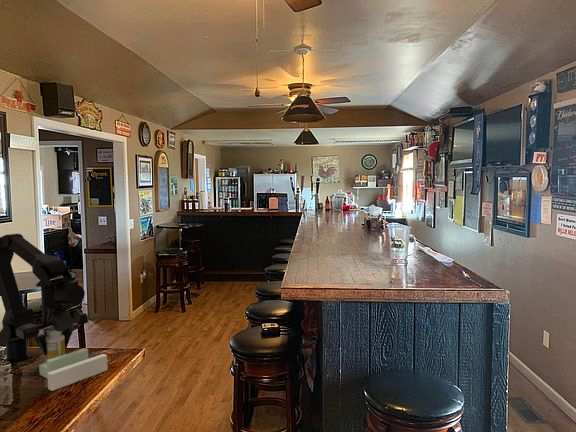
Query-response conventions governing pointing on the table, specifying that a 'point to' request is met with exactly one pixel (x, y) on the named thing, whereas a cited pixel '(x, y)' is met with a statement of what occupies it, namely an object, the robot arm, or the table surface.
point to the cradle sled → (63, 361)
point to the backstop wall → (77, 372)
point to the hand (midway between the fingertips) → (55, 352)
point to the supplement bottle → (54, 344)
